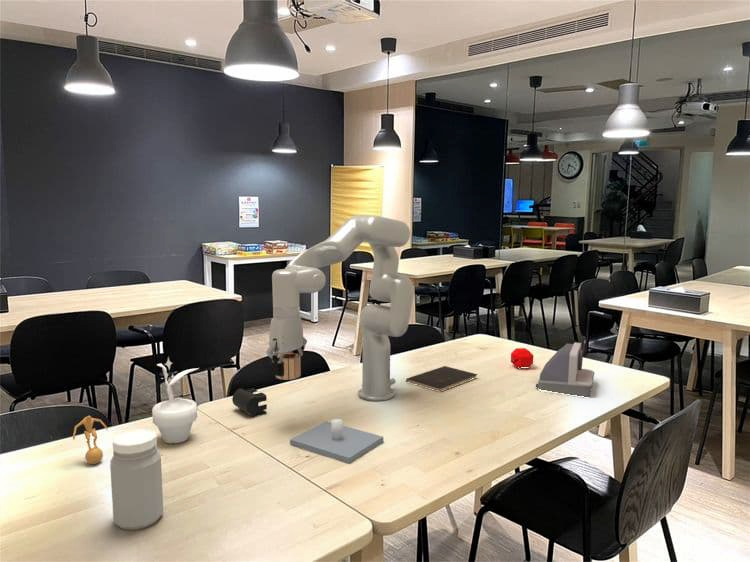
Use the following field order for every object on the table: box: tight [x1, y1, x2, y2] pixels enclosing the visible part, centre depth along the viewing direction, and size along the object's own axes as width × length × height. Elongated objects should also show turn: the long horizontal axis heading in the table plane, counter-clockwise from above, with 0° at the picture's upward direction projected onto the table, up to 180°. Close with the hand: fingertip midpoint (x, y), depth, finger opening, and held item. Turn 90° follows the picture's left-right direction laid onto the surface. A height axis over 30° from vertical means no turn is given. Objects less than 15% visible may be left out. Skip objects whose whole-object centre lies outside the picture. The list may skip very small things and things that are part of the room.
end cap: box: [231, 387, 268, 418], centre depth 176 cm, size 10×7×7 cm
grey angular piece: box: [535, 342, 595, 398], centre depth 203 cm, size 21×21×15 cm
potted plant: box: [151, 356, 200, 445], centre depth 154 cm, size 13×12×25 cm
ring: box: [275, 352, 302, 381], centre depth 163 cm, size 7×7×6 cm
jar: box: [109, 428, 164, 531], centre depth 115 cm, size 10×10×18 cm
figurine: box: [72, 415, 109, 465], centre depth 141 cm, size 8×6×12 cm
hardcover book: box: [405, 365, 478, 392], centre depth 210 cm, size 16×23×2 cm
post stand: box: [289, 418, 384, 464], centre depth 153 cm, size 16×20×6 cm
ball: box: [510, 347, 534, 368], centre depth 227 cm, size 8×8×8 cm
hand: (288, 371), depth 163 cm, fingers closed on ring, 7 cm apart
